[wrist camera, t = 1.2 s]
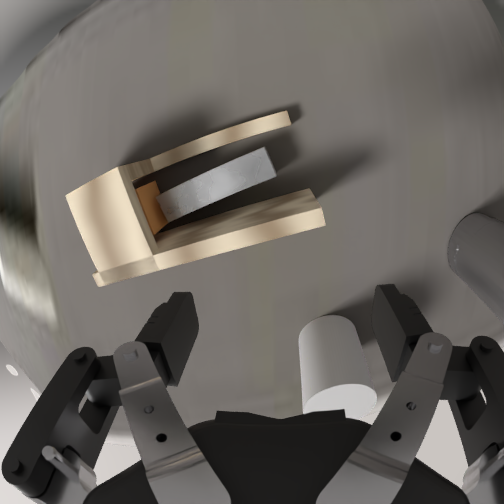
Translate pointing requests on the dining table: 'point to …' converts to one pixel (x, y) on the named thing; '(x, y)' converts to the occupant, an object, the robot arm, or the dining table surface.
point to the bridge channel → (187, 236)
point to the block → (151, 206)
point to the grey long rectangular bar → (217, 184)
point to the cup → (334, 368)
